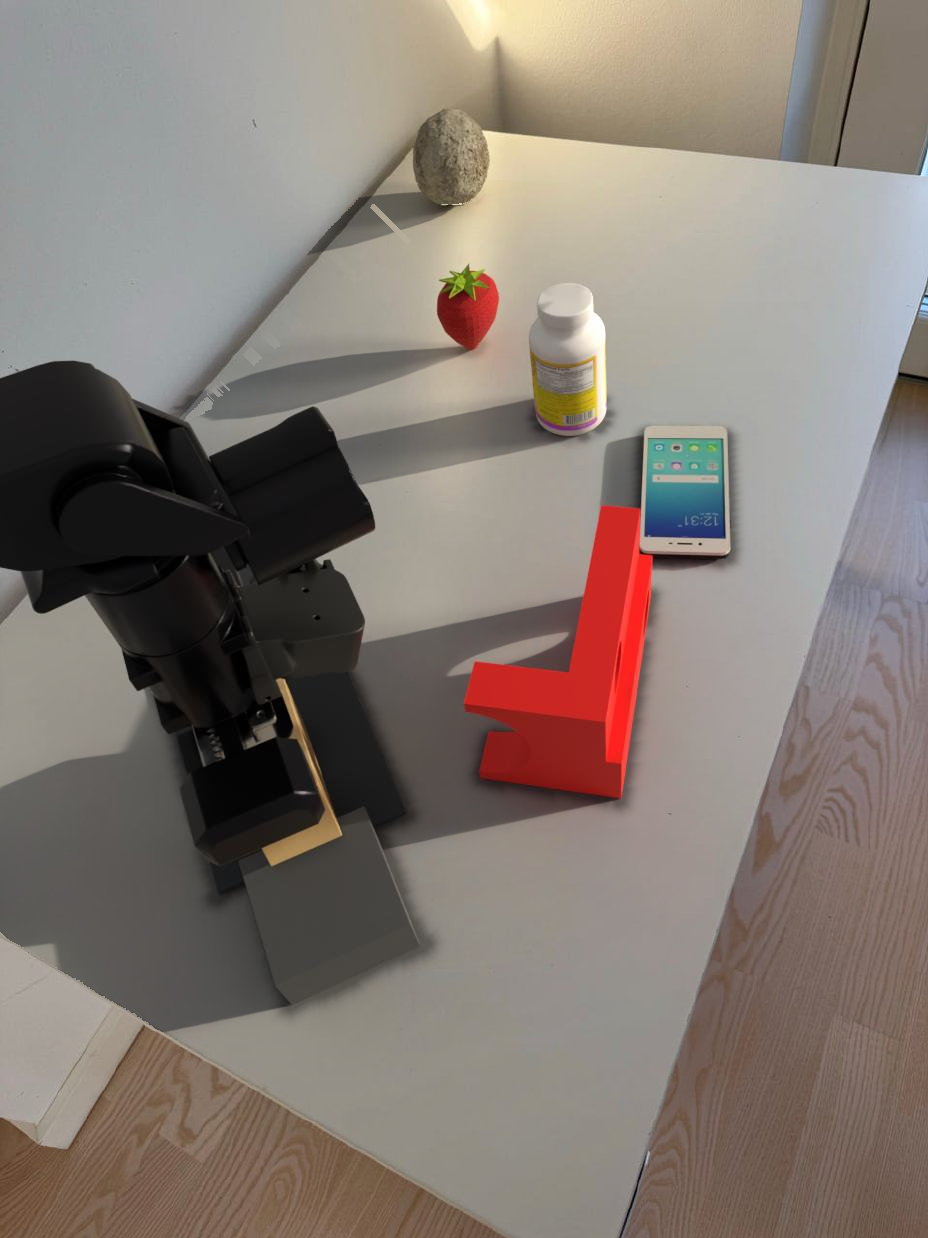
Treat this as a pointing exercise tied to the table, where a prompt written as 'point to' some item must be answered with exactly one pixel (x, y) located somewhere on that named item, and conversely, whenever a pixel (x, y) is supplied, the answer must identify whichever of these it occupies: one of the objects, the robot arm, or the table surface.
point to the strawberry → (467, 306)
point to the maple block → (328, 822)
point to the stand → (328, 910)
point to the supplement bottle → (568, 361)
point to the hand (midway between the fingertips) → (261, 763)
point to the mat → (333, 754)
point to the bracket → (576, 680)
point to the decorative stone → (450, 157)
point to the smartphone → (685, 493)
